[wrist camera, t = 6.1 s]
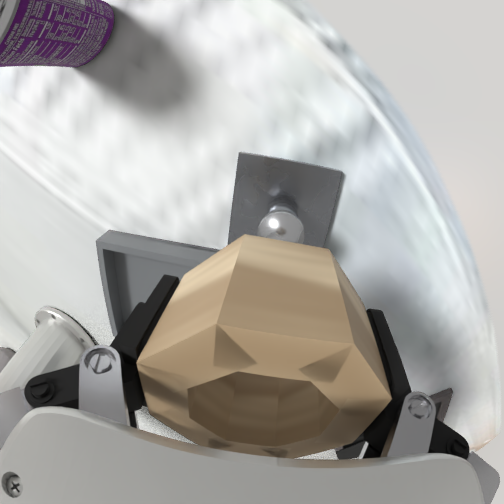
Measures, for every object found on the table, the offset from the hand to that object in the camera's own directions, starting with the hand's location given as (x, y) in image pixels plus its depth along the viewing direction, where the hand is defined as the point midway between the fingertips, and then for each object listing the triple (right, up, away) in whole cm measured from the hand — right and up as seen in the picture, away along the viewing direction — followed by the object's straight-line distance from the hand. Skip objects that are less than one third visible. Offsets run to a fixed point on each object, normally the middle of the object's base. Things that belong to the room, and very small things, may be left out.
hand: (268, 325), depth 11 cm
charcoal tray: (-10, -1, +18) cm, 20 cm away
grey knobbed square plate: (+2, +6, +12) cm, 14 cm away
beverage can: (-16, +23, +6) cm, 29 cm away
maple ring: (0, 0, 0) cm, 0 cm away
